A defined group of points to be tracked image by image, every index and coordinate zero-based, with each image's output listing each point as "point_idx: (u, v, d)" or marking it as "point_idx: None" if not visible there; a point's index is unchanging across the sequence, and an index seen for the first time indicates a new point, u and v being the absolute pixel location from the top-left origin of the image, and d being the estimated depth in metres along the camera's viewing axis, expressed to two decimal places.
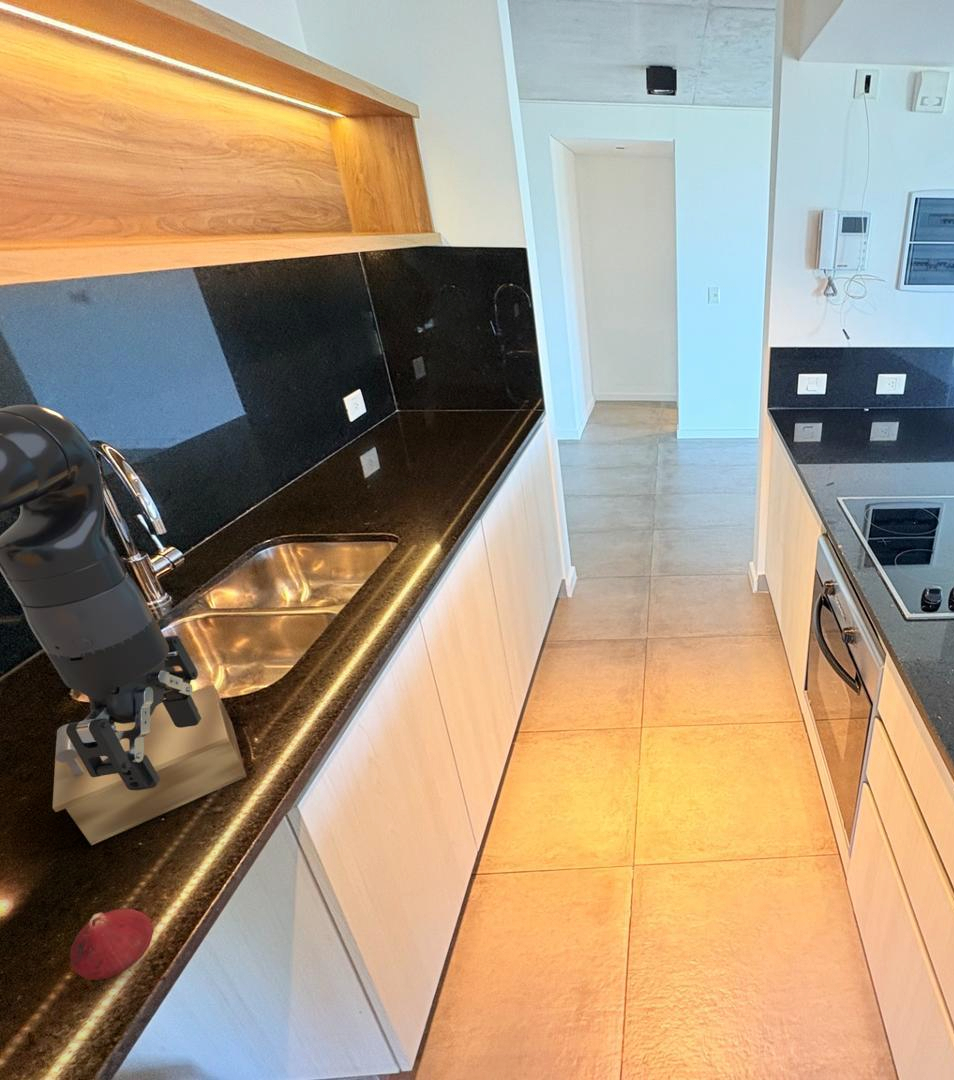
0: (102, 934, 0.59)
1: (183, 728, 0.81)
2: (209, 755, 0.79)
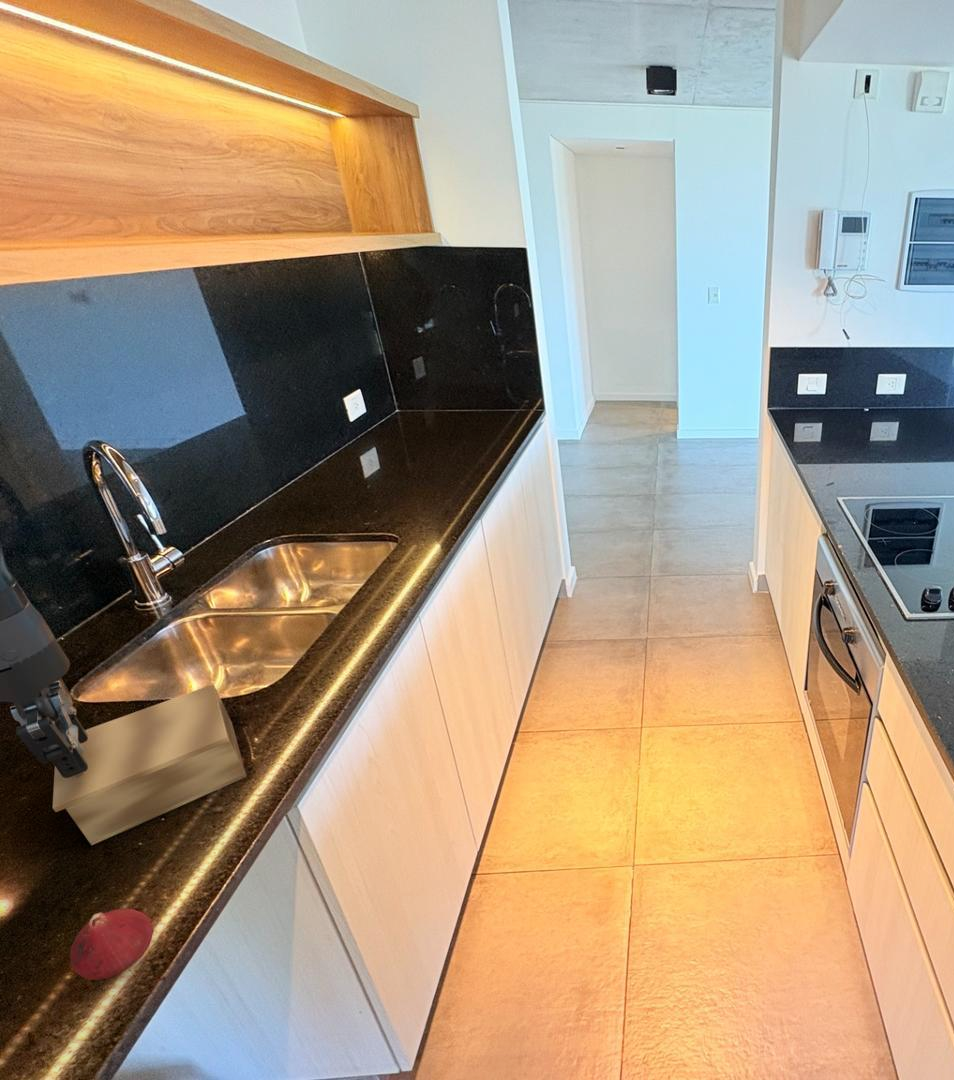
0: (102, 934, 0.59)
1: (183, 728, 0.81)
2: (209, 755, 0.79)
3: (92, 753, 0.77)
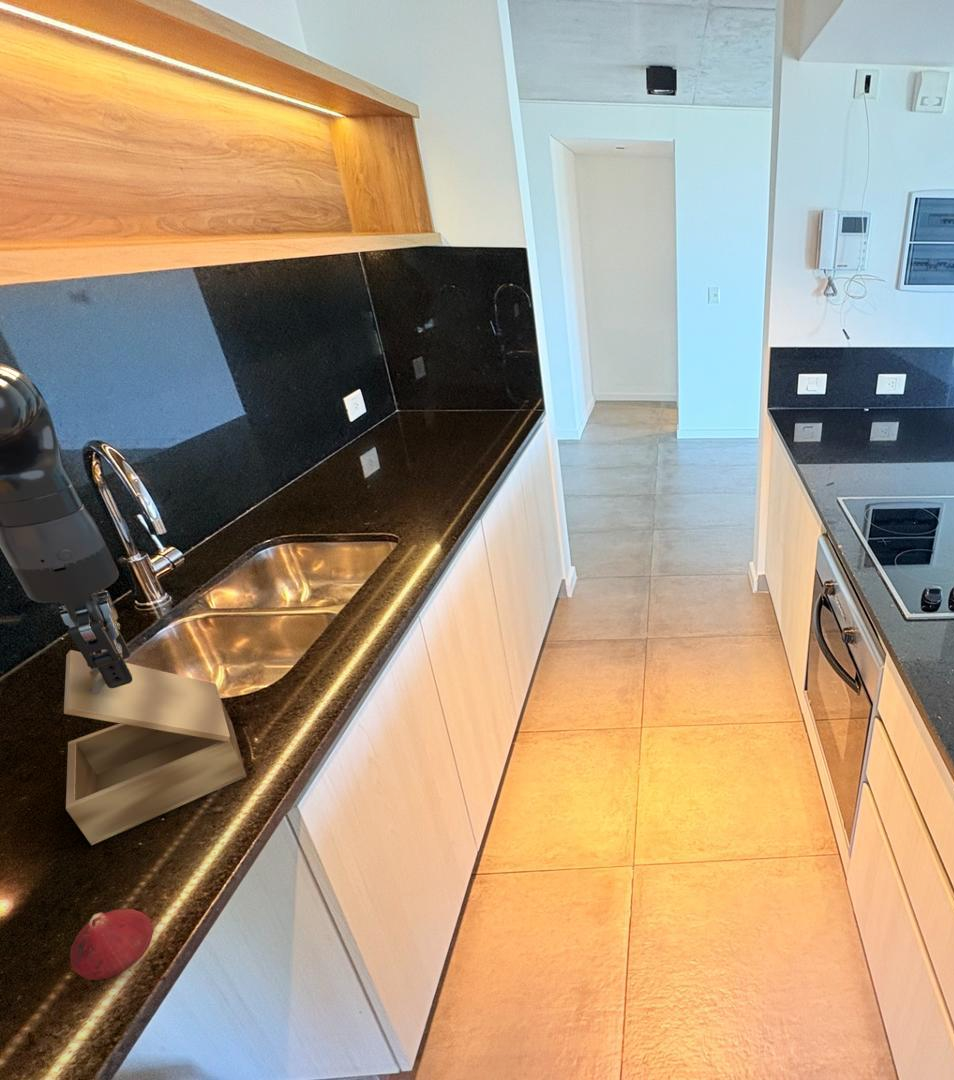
0: (102, 934, 0.59)
1: (190, 706, 0.81)
2: (209, 755, 0.79)
3: None
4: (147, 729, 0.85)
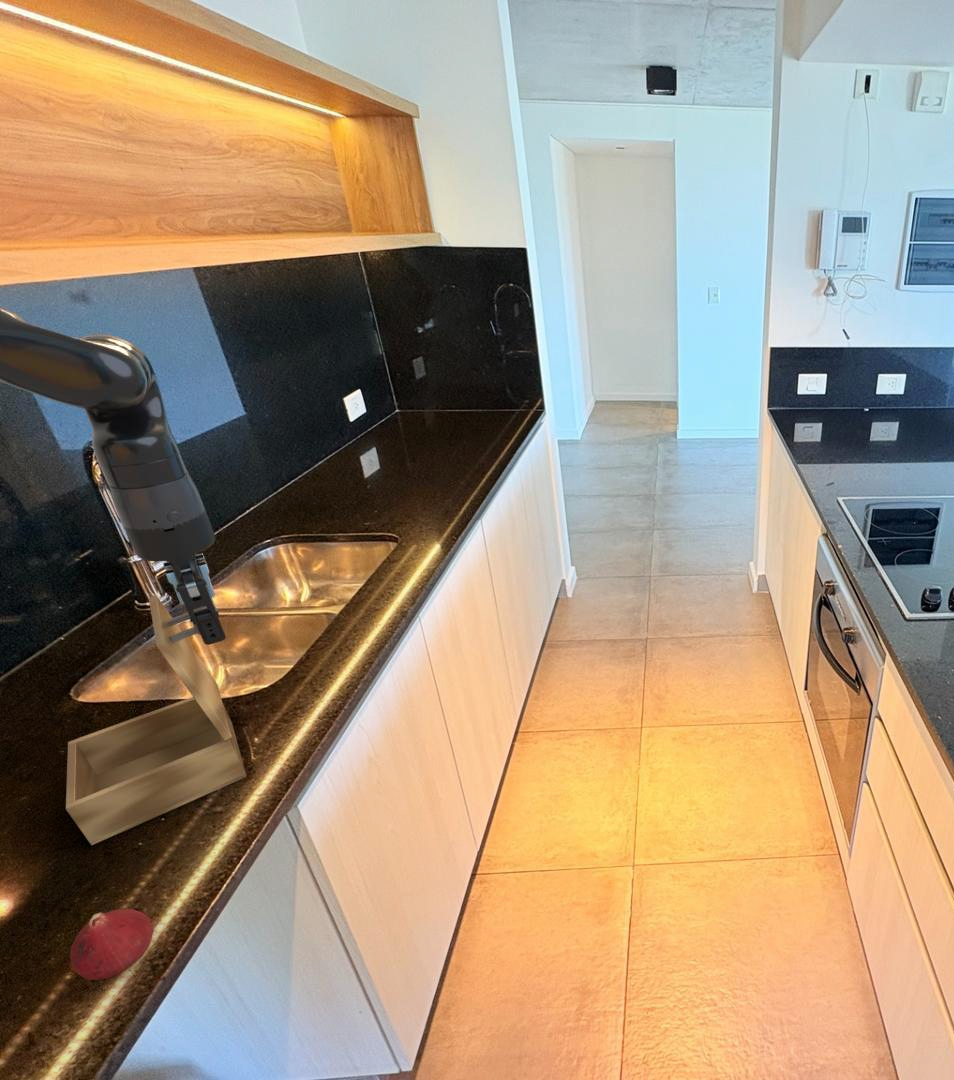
0: (102, 934, 0.59)
1: (210, 693, 0.82)
2: (209, 755, 0.79)
3: None
4: (147, 729, 0.85)
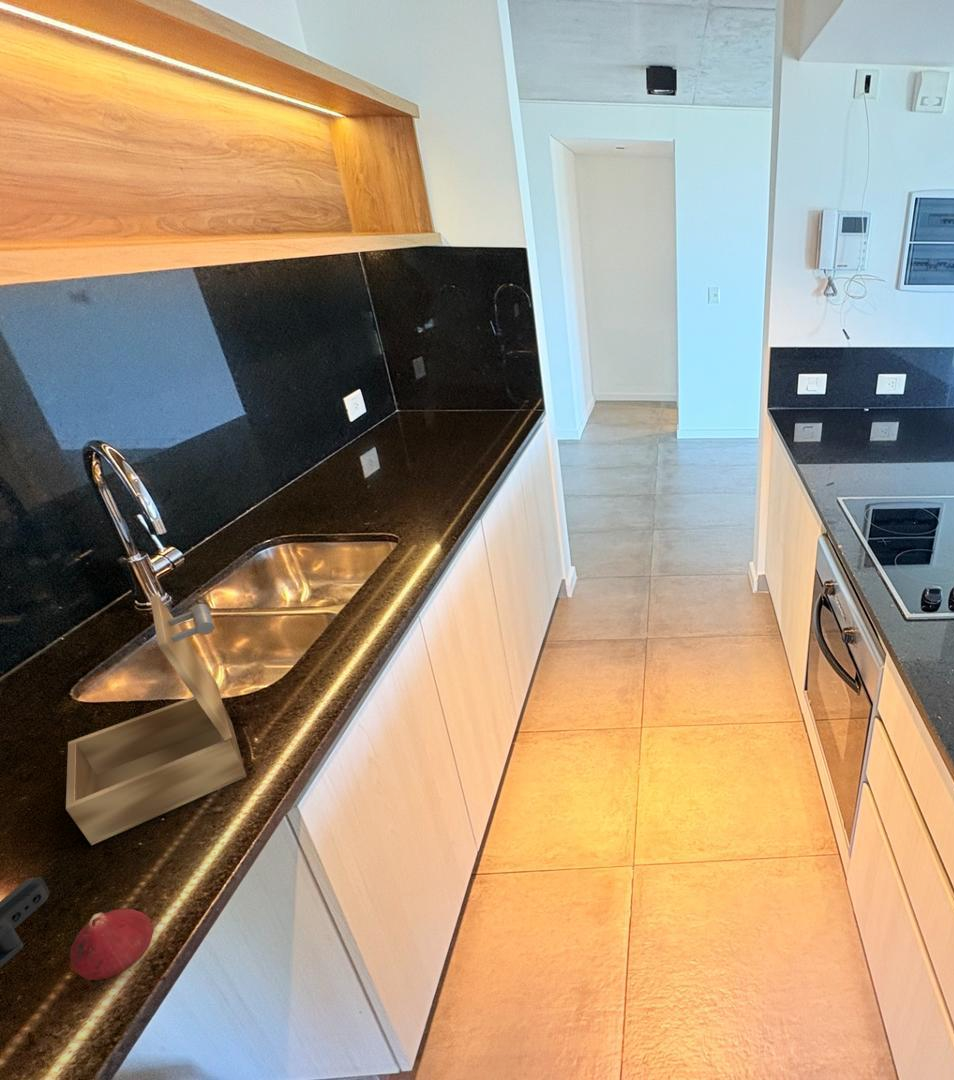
0: (102, 934, 0.59)
1: (211, 693, 0.82)
2: (209, 755, 0.79)
3: (175, 635, 0.79)
4: (147, 729, 0.85)
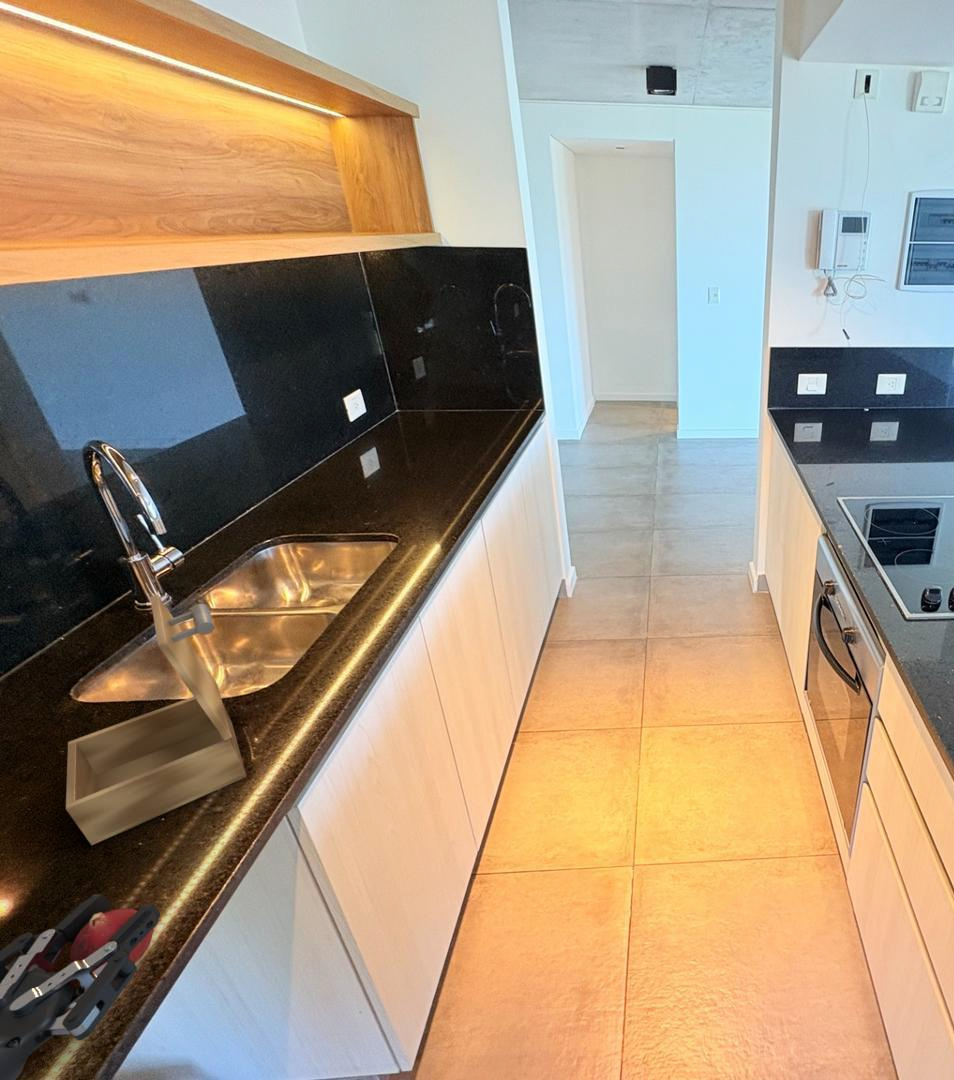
0: (102, 934, 0.59)
1: (211, 693, 0.82)
2: (209, 755, 0.79)
3: (175, 635, 0.79)
4: (147, 729, 0.85)
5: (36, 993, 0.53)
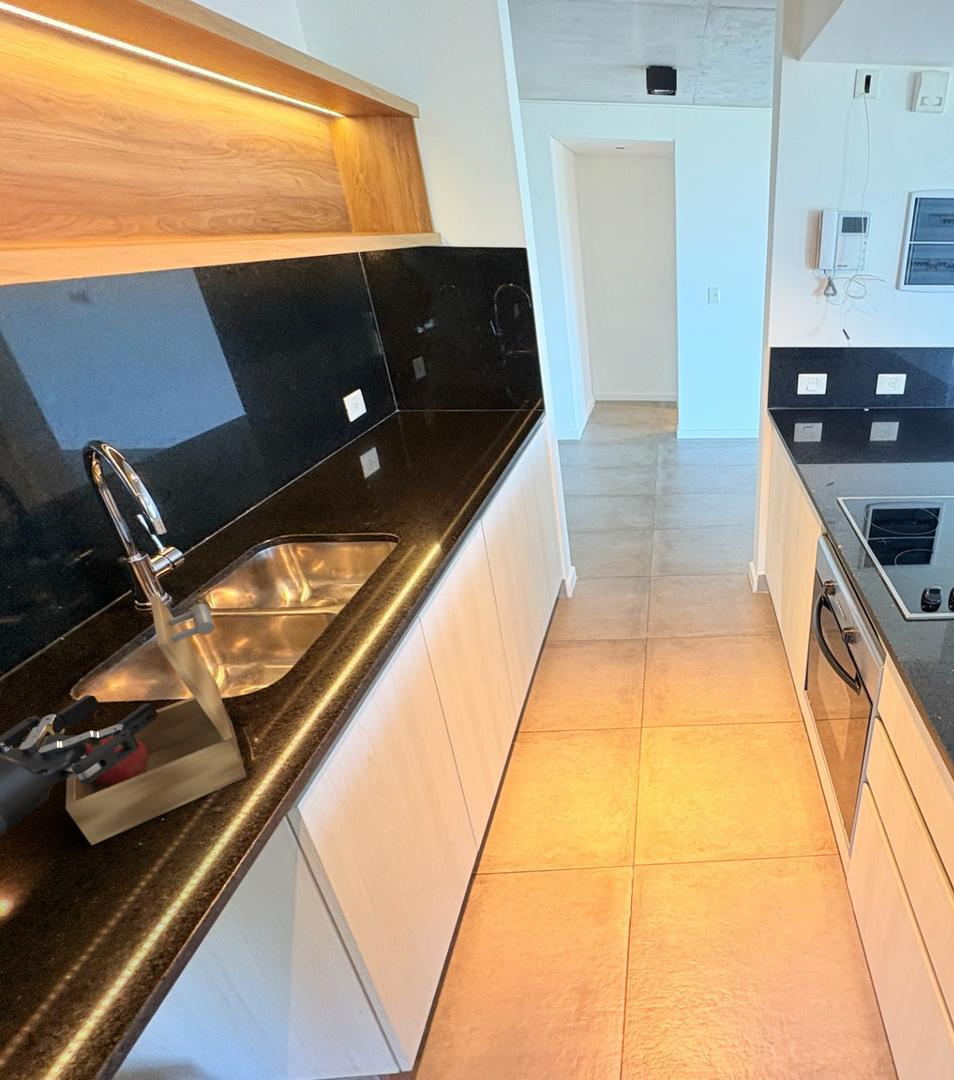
0: None
1: (211, 693, 0.82)
2: (209, 755, 0.79)
3: (175, 635, 0.79)
4: (147, 729, 0.85)
5: (58, 744, 0.70)
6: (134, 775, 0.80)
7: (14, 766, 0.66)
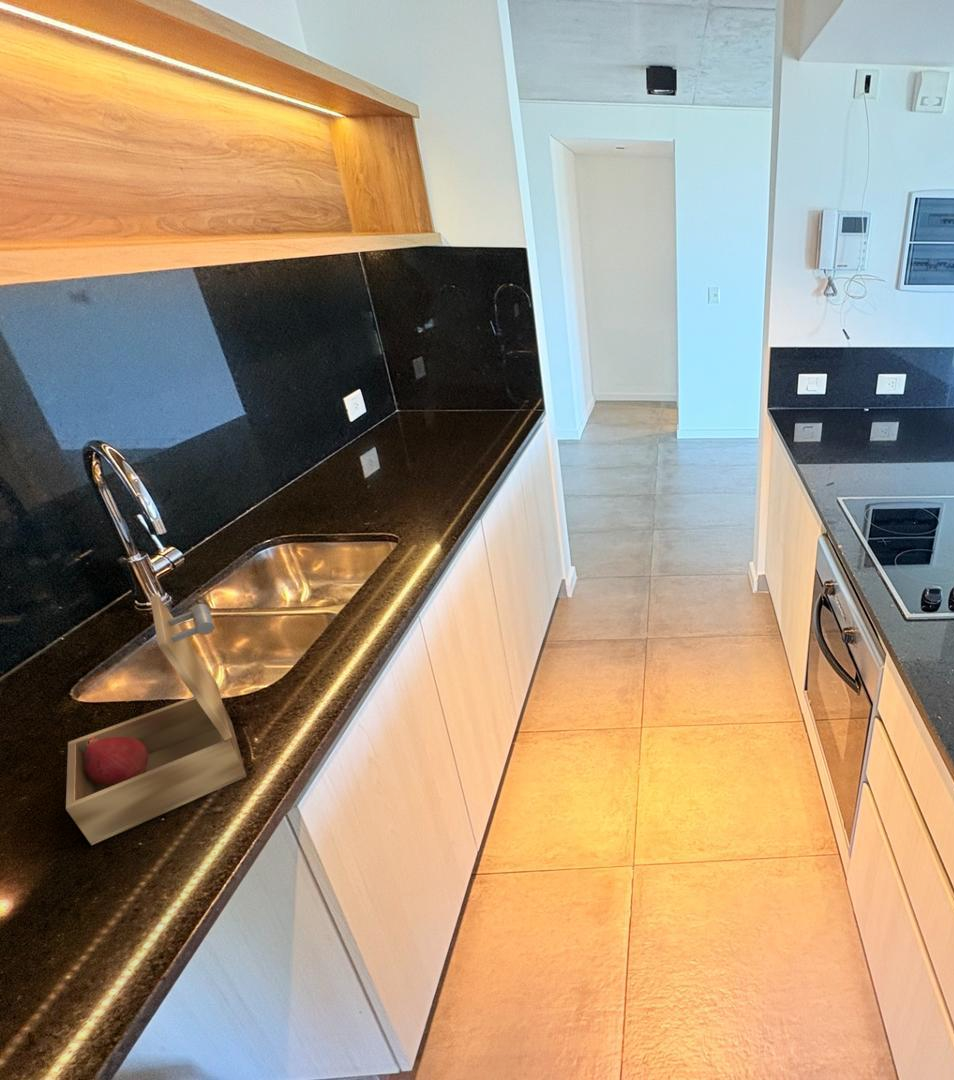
0: (94, 746, 0.78)
1: (211, 693, 0.82)
2: (209, 755, 0.79)
3: (175, 635, 0.79)
4: (147, 729, 0.85)
5: None
6: (134, 775, 0.80)
7: None
